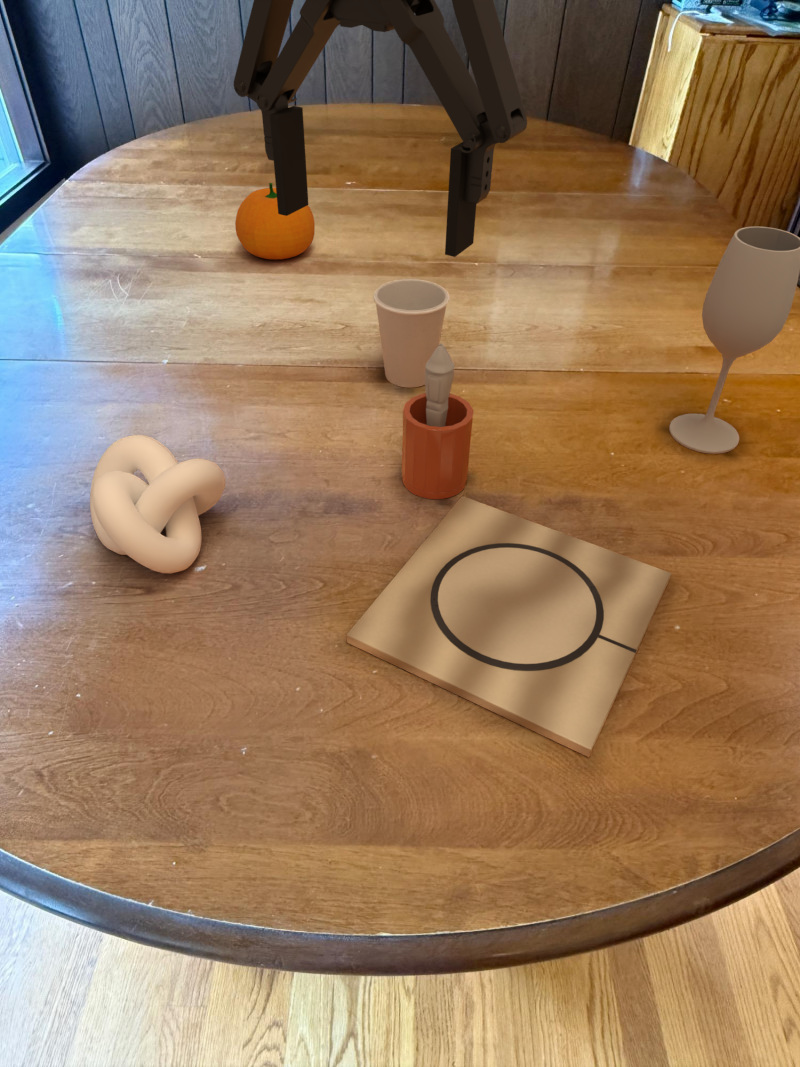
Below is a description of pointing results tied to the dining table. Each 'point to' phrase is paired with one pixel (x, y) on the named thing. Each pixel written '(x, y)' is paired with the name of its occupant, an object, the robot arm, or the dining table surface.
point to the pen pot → (436, 449)
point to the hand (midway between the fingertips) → (372, 229)
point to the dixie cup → (409, 327)
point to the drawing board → (516, 620)
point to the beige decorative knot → (152, 502)
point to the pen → (438, 386)
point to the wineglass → (742, 319)
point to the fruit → (272, 227)
